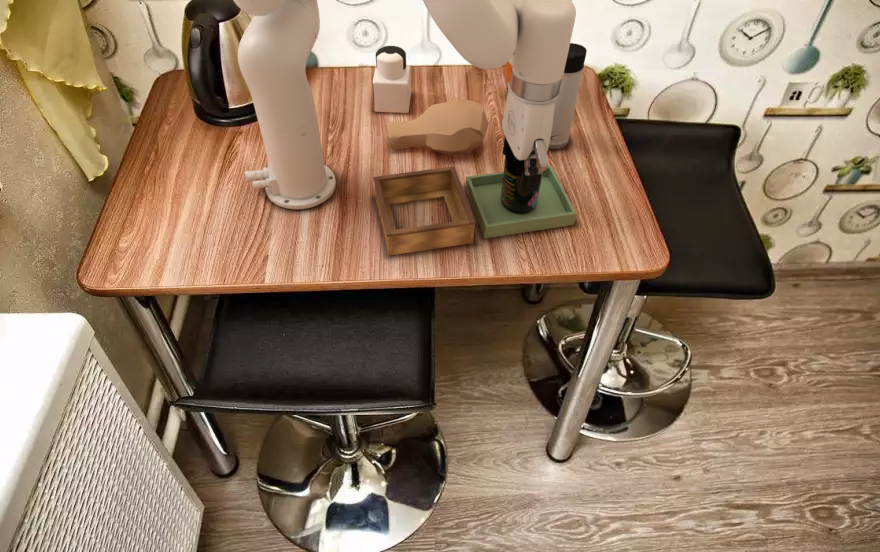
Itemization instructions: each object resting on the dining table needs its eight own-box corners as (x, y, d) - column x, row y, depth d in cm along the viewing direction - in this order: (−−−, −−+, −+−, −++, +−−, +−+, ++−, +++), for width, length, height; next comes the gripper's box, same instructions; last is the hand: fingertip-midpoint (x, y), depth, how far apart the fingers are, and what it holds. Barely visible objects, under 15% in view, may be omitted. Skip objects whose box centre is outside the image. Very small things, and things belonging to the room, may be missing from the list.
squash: (492, 160, 120) (491, 127, 113) (390, 172, 122) (382, 141, 114) (486, 119, 126) (485, 85, 118) (389, 131, 127) (381, 98, 119)
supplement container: (524, 221, 108) (532, 174, 100) (492, 204, 111) (497, 158, 103) (544, 200, 112) (553, 153, 104) (512, 185, 114) (519, 138, 106)
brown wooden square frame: (388, 256, 103) (386, 235, 99) (374, 198, 112) (373, 176, 109) (473, 243, 105) (475, 222, 102) (453, 187, 115) (454, 165, 111)
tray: (484, 238, 106) (485, 226, 104) (465, 188, 115) (466, 176, 113) (574, 225, 109) (576, 213, 107) (549, 176, 117) (551, 165, 115)
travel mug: (551, 154, 122) (569, 60, 106) (530, 137, 125) (544, 43, 110) (575, 144, 124) (596, 50, 109) (554, 127, 127) (571, 34, 112)
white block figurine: (378, 93, 134) (374, 40, 125) (411, 94, 134) (410, 42, 125) (374, 112, 130) (370, 59, 121) (408, 113, 130) (407, 61, 121)
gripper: (495, 53, 98) (484, 142, 111) (529, 118, 87) (513, 208, 100) (540, 50, 99) (525, 138, 112) (580, 113, 88) (557, 203, 101)
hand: (519, 171), depth 106 cm, fingers open, 9 cm apart
